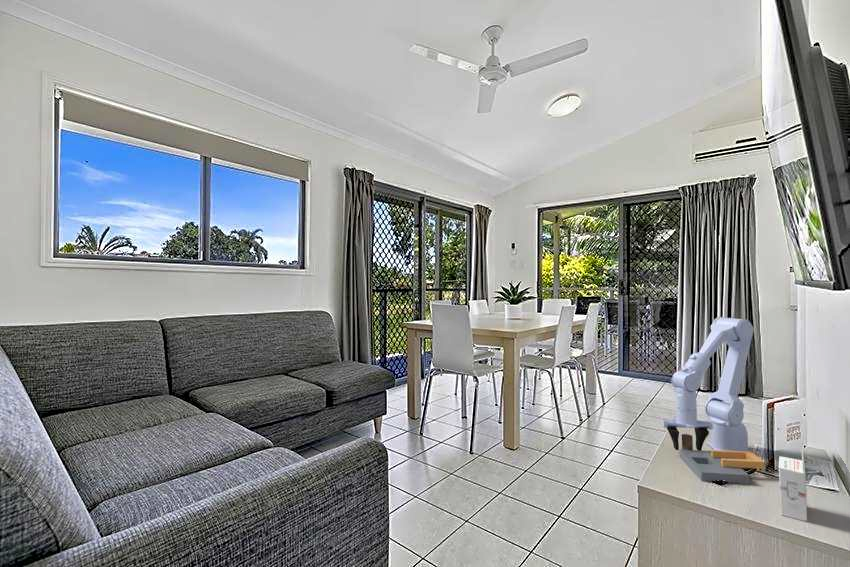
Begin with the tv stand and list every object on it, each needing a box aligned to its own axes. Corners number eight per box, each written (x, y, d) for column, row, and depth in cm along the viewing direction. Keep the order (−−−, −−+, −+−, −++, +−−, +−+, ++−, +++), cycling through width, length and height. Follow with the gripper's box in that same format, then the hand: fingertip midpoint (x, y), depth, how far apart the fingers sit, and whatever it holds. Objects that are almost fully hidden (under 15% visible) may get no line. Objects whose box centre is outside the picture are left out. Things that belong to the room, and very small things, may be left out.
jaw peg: (690, 452, 137) (690, 434, 137) (694, 455, 134) (694, 437, 134) (680, 451, 137) (680, 433, 137) (684, 455, 134) (683, 437, 134)
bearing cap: (751, 458, 125) (750, 451, 125) (765, 469, 118) (765, 462, 118) (711, 456, 127) (711, 449, 127) (722, 466, 120) (722, 459, 120)
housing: (721, 459, 131) (720, 451, 131) (749, 484, 115) (749, 475, 115) (679, 457, 133) (679, 449, 133) (701, 480, 118) (701, 472, 118)
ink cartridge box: (779, 500, 107) (778, 443, 106) (805, 506, 103) (804, 448, 103) (779, 515, 100) (778, 455, 100) (807, 522, 97) (806, 460, 97)
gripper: (666, 411, 133) (667, 453, 133) (717, 413, 130) (718, 455, 130) (658, 404, 140) (660, 444, 140) (706, 406, 137) (707, 446, 137)
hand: (687, 449), depth 135 cm, fingers open, 6 cm apart
